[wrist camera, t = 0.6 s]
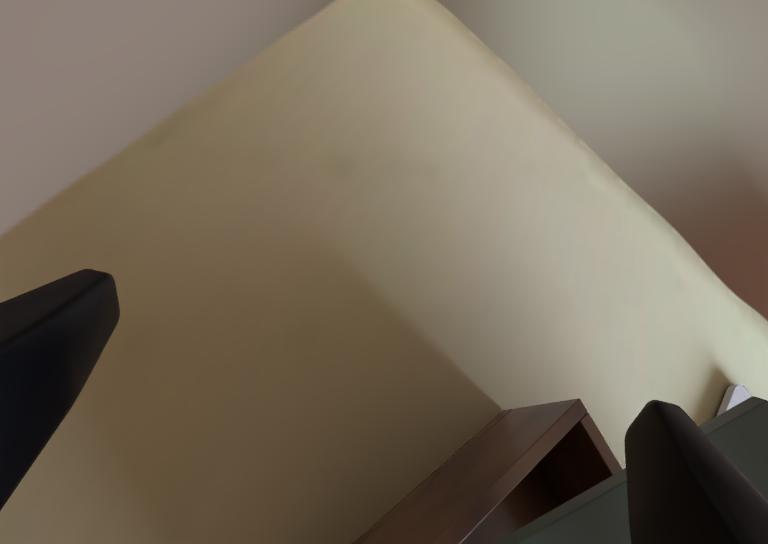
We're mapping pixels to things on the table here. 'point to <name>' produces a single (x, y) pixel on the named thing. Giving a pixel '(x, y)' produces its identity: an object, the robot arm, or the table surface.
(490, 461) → the case
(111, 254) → the table surface
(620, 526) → the cover
